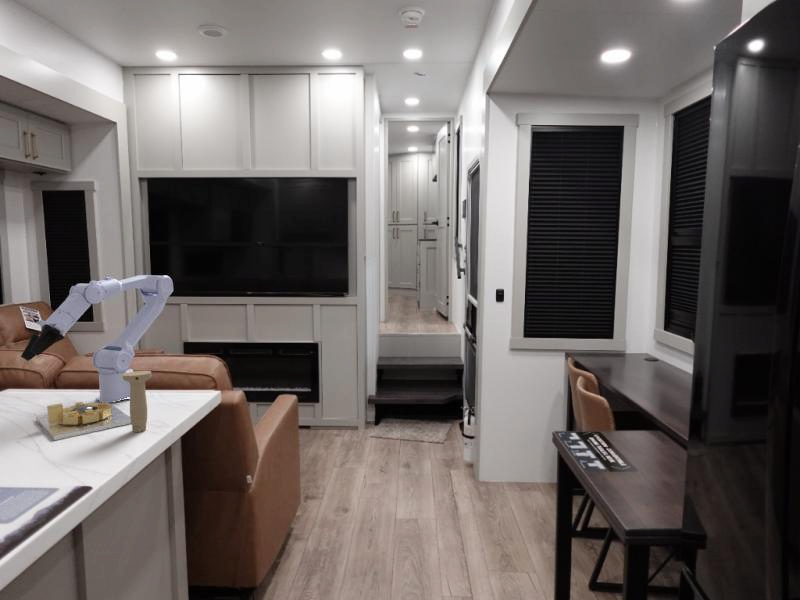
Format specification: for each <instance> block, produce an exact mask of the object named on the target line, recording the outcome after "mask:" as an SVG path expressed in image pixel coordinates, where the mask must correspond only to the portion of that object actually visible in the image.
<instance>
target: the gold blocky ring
mask: <svg viewBox="0 0 800 600" xmlns="http://www.w3.org/2000/svg"><path fill="white" fill-rule="evenodd" d="M84 405H92V406H93V410H92V409H88V410H85V413H79V411H75V408H76V407H79V406H84ZM63 406H64V405H63V403H61V402H60V403H55V404H51V405H47V415H48V423H49V424H50V425H51V424H56V423H60V424H62V423H63V424H80V423H82V424H85V423H90V422H95V421H99V419H104V418H106V417H108V416H110V415H111V413H112V409H111V406H110V405H109V403H107V402H102V403H101V402H90V403H87V402H85V403H84V402H83V401H79V402H75V403H74V405H70V406H67V407H63Z"/></svg>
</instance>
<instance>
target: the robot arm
mask: <svg viewBox="0 0 800 600" xmlns="http://www.w3.org/2000/svg"><path fill="white" fill-rule="evenodd" d="M134 289H138V291H139V293H140V297H141V299H142V301H143V303H144V305H143V306H142V307H141V309H140V310H139V311H138V312H137V314H135V316H134V317H133V318H132V319H131V321H130V322H128V324H127V325H126V326H125V328H124V329H123V330H122V331H121V333H120V334H119V335H118V336H117V337H116V339H114V340H112V341H110V342H108V343H105V344H104V345H103V347H101V348H99V349H97V350H96V351H95V352H94V354H93V355H92V359H91V361H92V365H93V366H94V367H95V368H96V369H97V372H98V384H99V396H97V397H95V400H96V399H97V400H96V401H98V400H99V401H100V402H99V401H98V402H99V403H101V402H107V403H108V402H113V401H118V400H120V399H121V400H122V399H124V398H127V397H130V383H129V382H127V381H125V380H123V374H124V373H128V372H134V369H132V368H129V367H130V366H131V363H132V360H133V358H134V356H136V354H135V351H134V349H133V348H134V347H135V346H136V344H137V343H138V342H139V341H140V340H141V338H142V337H143V336H144V335H145V333H147V330H149V328H150V327H151V325H153V323H154V322H155V321H156V319H157V318H158V316H160V314H161V313H162V312H163V310H164V309H165V306H166V303H167V300H168V298H169V297H170V296H171V295H172V293H173V292H174V283H173V280H172V278H171V277H170V276H169V275H164V274H163V275H152V274H151V275H149V274H144V275H143V274H142V275H141V274H140V275H135V276H132V277H128V278H124V279H123V278H122V279H120V280H118V279H116V278H113V277H111V276H107V277H106V276H105V277H104V278H103V279H101V280H97V281H96V280H90V281H89V283H76V285H72V286H71V287H70V289H69V294H68V295H67V297H66V298H65V300H64V301H63V302H62V303H61V304H60V305H59V307H58V308H56V309H55V310H54V312H53V313H52V314H51V315H50V316H49V317H48V318H47V319H46V320H44V319H39V320H38V321H37V323H38V324H39V325H40V330H41V331H40V334H39V335H38V334H36V333H35V332H32V333H31V334H30V336H29V341H28V343H27V345H26V346H25V348H24V350H23V352H22V354H21V355H20V357H21V358H22V359H24V360H25V361H30V360H32V359H33V358H34V357H36V356H40V355H41V354H42V353H45V351H47V350H48V349H49V348H50V347H51V346H53V345H54V344H56V343H58V342H60V341H62V340H64V339H65V335H66V334H67V333H68V331H69V330H70V329H71V328H72V327H73V326H74V325H75V323H76V322H78V320H79V319H80V318H81V316H83V315H84V313H85V312H86V311H87V310H89V308H90V307H91V306H92V304H96V305H97V304H99V303H100V302H101V301H104V300H108V299H112V298H115V297H118V296H120V294H121V293H122V292H123V291H124V292H125V291H128V290H134ZM113 403H114V402H113ZM108 404H109V403H108Z"/></svg>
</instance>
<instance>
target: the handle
mask: <svg viewBox="0 0 800 600" xmlns="http://www.w3.org/2000/svg"><path fill="white" fill-rule="evenodd" d="M133 371H134V370H133ZM150 378H152V371H150V370H136V371H134V372H128V373H124V374H123V380H125V381H127V382H129V383H130V399H129V416H130V419H131V430H132V432H133V433H141V432H144V431H146V430H147V423H148V403H147V394H146V393H147V392H146V382H147V381H148V380H150Z"/></svg>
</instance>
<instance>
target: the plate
mask: <svg viewBox="0 0 800 600" xmlns="http://www.w3.org/2000/svg"><path fill="white" fill-rule="evenodd" d="M108 404H109V405H110V406H111V409H112V413H111V415H110V416H108V417H106V418H104V419H99V421H95V422H90V423H85V424H82V423H80V424H63V423H62V424H60V423H56V424H51V425H50V424H49V423H48V414H47V415H41V416H37V417H35V421H36V420H37V421H36V423H37V424H38V425H40V427H41V426H42V427H43V428H42V427H41V428H42V429H43V430H44V432H46V433H47V434H48V436H49V437H50V438H51V439H52V440H53V441H58V440H64V439H66V438H67V439H68V438H72V437H77V436H80V435H81V436H82V435H85V434H89V433H90V434H91V433H95V432H99V430H100V431H103V429H104V430H108V429H107V428H109V429H112V428H111V427H113V428H116V427H115V426H118V427H121V426H120V425H122V426H125V425H124V424H127V425H130V424H129V423H131V419H130V415H128V414H127V413H125V412H123V411H122V410H121V409H119V408H118V407H116V406H115V405H113V404H112V403H108ZM88 409H92V410H93V406H92V405H84V406H79V407H76V408H75V411H79V413H85V410H88Z"/></svg>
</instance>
